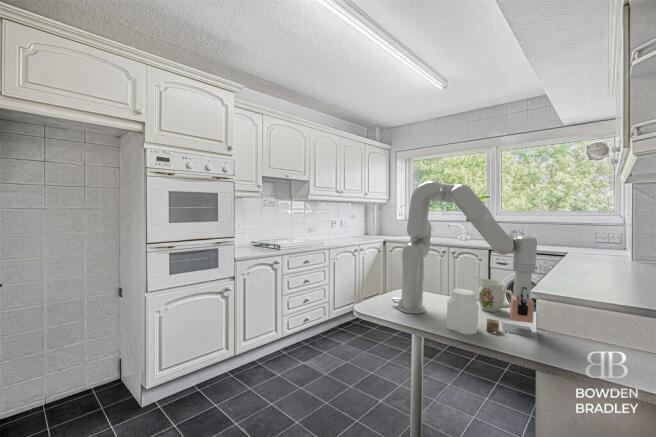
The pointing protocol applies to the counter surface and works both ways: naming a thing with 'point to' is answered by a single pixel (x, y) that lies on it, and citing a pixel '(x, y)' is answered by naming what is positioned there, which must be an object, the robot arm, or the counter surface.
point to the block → (492, 325)
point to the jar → (462, 312)
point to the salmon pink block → (514, 310)
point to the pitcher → (491, 295)
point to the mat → (517, 329)
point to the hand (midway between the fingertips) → (521, 311)
